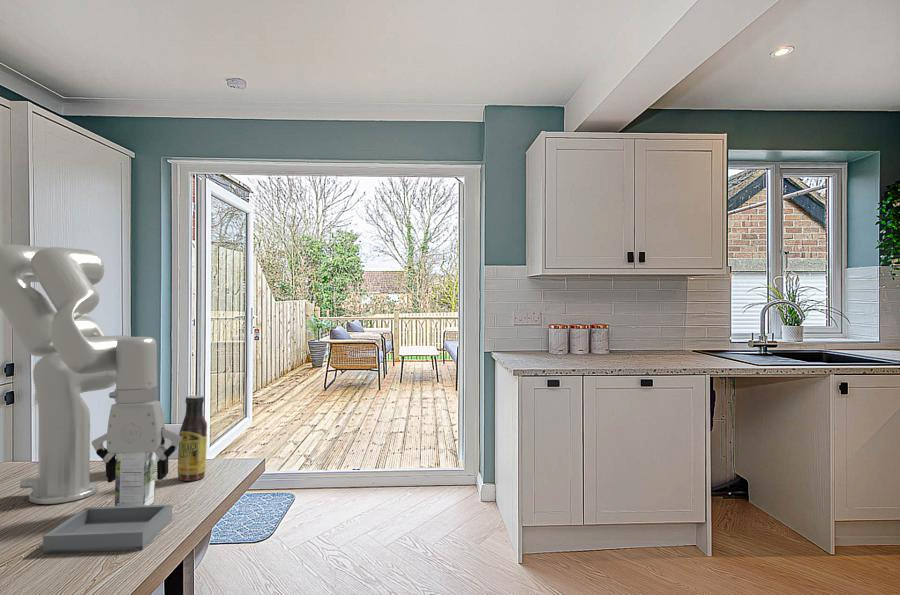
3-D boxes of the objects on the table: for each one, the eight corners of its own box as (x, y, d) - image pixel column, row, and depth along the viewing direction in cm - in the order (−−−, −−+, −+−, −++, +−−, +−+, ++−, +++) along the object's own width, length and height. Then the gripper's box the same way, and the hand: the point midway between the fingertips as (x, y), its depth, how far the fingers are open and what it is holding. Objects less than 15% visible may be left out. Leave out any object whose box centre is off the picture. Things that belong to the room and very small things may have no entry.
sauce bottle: (171, 481, 139) (172, 397, 140) (189, 473, 146) (189, 393, 146) (196, 483, 138) (196, 398, 138) (212, 475, 144) (212, 394, 144)
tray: (42, 554, 99) (43, 536, 99) (85, 523, 113) (85, 507, 113) (142, 549, 101) (142, 532, 101) (172, 519, 115) (172, 504, 115)
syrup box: (127, 503, 124) (127, 434, 124) (156, 502, 124) (156, 434, 125) (114, 513, 118) (114, 441, 118) (144, 512, 119) (145, 440, 119)
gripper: (83, 400, 117) (83, 486, 117) (173, 397, 119) (174, 482, 118) (101, 395, 124) (102, 476, 124) (186, 392, 126) (187, 472, 126)
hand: (137, 479), depth 121 cm, fingers open, 9 cm apart
